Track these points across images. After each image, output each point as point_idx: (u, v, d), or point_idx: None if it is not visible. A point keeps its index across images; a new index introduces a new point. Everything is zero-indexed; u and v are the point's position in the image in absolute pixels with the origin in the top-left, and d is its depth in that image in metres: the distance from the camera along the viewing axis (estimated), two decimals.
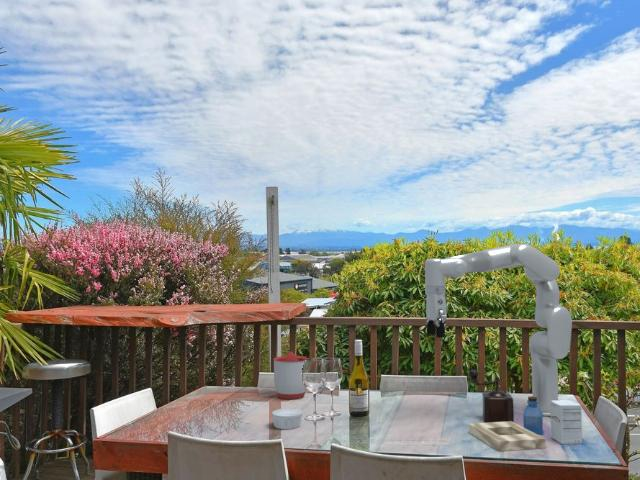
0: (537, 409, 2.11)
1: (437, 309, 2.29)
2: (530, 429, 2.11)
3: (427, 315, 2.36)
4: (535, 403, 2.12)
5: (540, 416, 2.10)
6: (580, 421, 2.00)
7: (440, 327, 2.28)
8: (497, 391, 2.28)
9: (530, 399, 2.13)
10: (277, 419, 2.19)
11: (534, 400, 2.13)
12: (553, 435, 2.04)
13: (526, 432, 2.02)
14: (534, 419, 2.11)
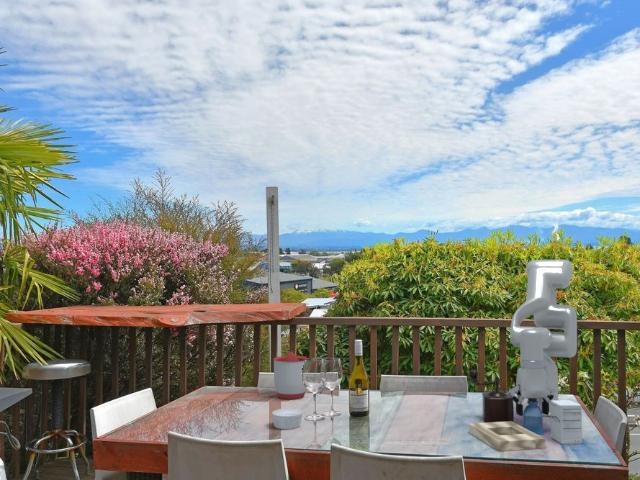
0: (537, 409, 2.11)
1: None
2: (530, 429, 2.11)
3: (528, 394, 2.11)
4: (535, 403, 2.12)
5: (540, 417, 2.10)
6: (580, 421, 2.00)
7: None
8: (497, 391, 2.28)
9: (530, 399, 2.13)
10: (277, 419, 2.19)
11: (534, 400, 2.13)
12: (553, 435, 2.04)
13: (526, 432, 2.02)
14: (534, 419, 2.11)
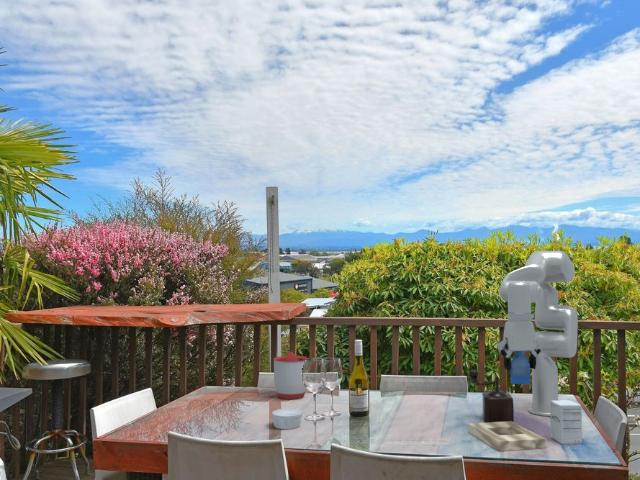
0: (524, 358, 2.08)
1: None
2: (517, 379, 2.07)
3: (515, 347, 2.08)
4: (522, 352, 2.09)
5: (528, 366, 2.06)
6: (580, 421, 2.00)
7: None
8: (497, 391, 2.28)
9: None
10: (277, 419, 2.19)
11: None
12: (553, 435, 2.04)
13: (526, 432, 2.02)
14: (522, 368, 2.07)
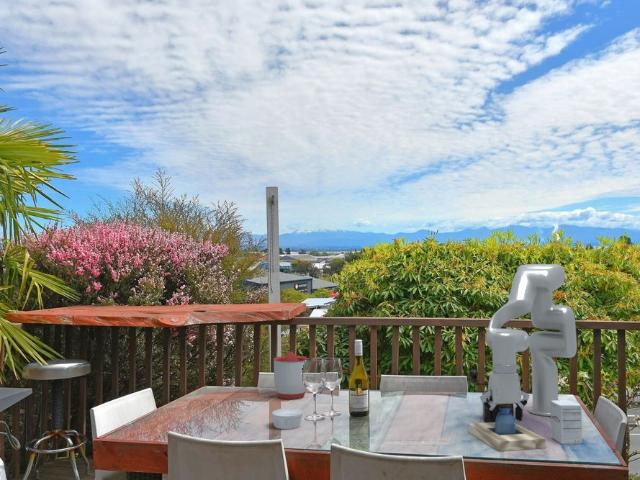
0: (509, 416, 2.02)
1: None
2: None
3: (500, 400, 2.02)
4: (507, 410, 2.03)
5: (513, 424, 2.01)
6: (580, 421, 2.00)
7: None
8: None
9: (502, 405, 2.04)
10: (277, 419, 2.19)
11: (506, 407, 2.03)
12: (553, 435, 2.04)
13: (526, 432, 2.02)
14: (506, 426, 2.01)
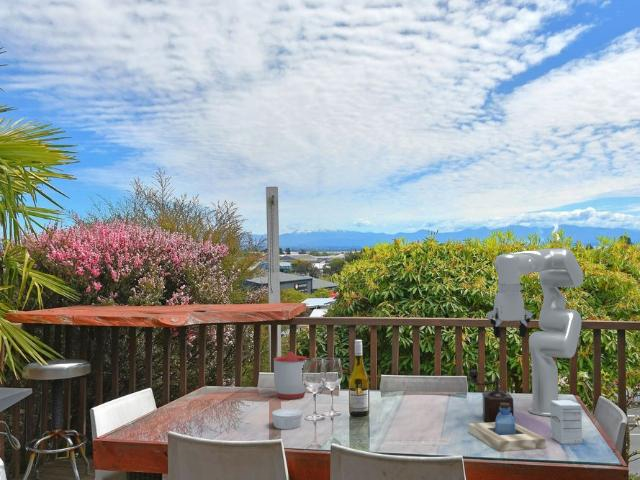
0: (509, 416, 2.02)
1: None
2: None
3: (505, 316, 2.17)
4: (507, 410, 2.03)
5: (513, 424, 2.01)
6: (580, 421, 2.00)
7: None
8: (497, 391, 2.28)
9: (502, 405, 2.04)
10: (277, 419, 2.19)
11: (506, 407, 2.03)
12: (553, 435, 2.04)
13: (526, 432, 2.02)
14: (506, 426, 2.01)
